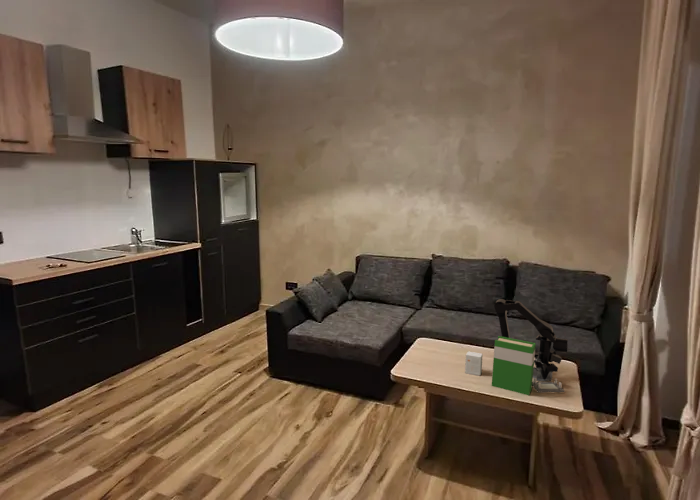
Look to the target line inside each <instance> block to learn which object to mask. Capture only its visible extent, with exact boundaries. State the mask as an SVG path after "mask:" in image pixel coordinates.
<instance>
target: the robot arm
mask: <svg viewBox="0 0 700 500" xmlns="http://www.w3.org/2000/svg"><path fill="white" fill-rule="evenodd" d="M493 308H494V311H495V314H496V316H497V317H498V321H499V327H500V333H501V337H507V338H511V334H510V329H509V328H510V327H509V321H508V317H507V315H508V314H507V313H508V311H516V312H518V313H519V314H520V315H522V317H524V319H526V320H527V321H528V322H529V323H530V324H531V325H532V326H534V328H535V329H536V330H537V332H538V335H537V336H536V337H535V340H536V341H539V343H538V344H539V346H538V348H536V351H535V357H534V367H540V368H541V372H542V376H543V379H544V380H545V379H546V378H547V376H548V374H549V372H553V373H557V372H558V370H559V367H558V366H557V365H556V364H554V363H557V364H559V365H560V364H561V362H562V360H563V358H562V357H561V356H560V355H558V354H557V352H560V353H565V354H567V353H568V346H569V345H568V342H569V339H568V338H559V337H557V335H556V334H555V332H554V328H553V326H552V325H551V324H549V323H548V322H546V321H544V320H542V319H540V318H539V317H538V316H537V315H536V314H534V313H533V312H532V311H531V310H530V309H529V308H528V307H526V306H525V305H524V304H523V303H522V302H521V301H519V300H511V299H510V300H508V299H506V300H505V299H503V298H499V299H497V300H496V301H495V303H494V304H493ZM553 362H554V363H553Z"/></svg>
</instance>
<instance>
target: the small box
mask: <svg viewBox="0 0 700 500" xmlns="http://www.w3.org/2000/svg"><path fill="white" fill-rule="evenodd" d="M482 369H483V353H481V352H475V351H467V352H466V354H465V367H464V373H465V374H469V375H473V376H477V377H478V376H479V377H481V374H482Z"/></svg>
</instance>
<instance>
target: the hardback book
mask: <svg viewBox="0 0 700 500" xmlns="http://www.w3.org/2000/svg"><path fill="white" fill-rule="evenodd" d="M536 344H537V343H536V342H531V341H527V340H521V339H516V338H512V337H510V338H507V337H502V335H501V336H500V335H498V336H497V339H495V340H494V348H493V361H492V372H491V374H492V376H491V387H494V388H498V389H502V390H506V391H510V392H514V393H517V394H521V395H526V396H530V394H531V392H532V390H533V389H532V388H533V386H532V382H533V381H534V378H533V369H534V367H535V363H534V360H535V352H536Z"/></svg>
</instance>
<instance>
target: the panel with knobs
mask: <svg viewBox="0 0 700 500" xmlns="http://www.w3.org/2000/svg"><path fill="white" fill-rule="evenodd" d="M562 384H563V383H562V382H560V381H559V382H558V378H556V377H555V378H554V382H553V381H537V378H533V381H532V388H533V389H535V391H536V392H537V393H544V392H566V391H565V389H563V387H562V386H563V385H562Z"/></svg>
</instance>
